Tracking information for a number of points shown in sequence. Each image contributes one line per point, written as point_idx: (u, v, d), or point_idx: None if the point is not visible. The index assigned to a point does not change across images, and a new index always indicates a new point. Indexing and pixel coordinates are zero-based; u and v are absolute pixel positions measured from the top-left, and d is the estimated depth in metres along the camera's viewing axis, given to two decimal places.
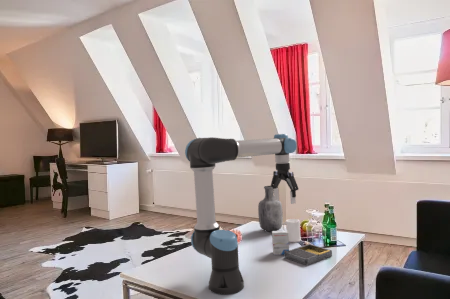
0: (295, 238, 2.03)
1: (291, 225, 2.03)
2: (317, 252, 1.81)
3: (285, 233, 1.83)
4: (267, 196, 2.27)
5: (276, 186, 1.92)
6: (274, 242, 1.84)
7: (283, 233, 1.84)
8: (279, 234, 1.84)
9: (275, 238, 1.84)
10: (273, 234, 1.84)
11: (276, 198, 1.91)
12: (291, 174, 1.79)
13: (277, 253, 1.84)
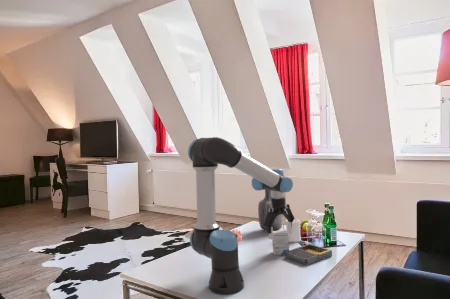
0: (295, 238, 2.03)
1: None
2: (317, 252, 1.81)
3: (285, 233, 1.83)
4: (267, 196, 2.27)
5: (290, 219, 1.89)
6: (274, 242, 1.84)
7: (283, 233, 1.84)
8: (279, 234, 1.84)
9: (275, 238, 1.84)
10: (273, 234, 1.84)
11: (288, 231, 1.90)
12: (268, 210, 1.82)
13: (277, 253, 1.84)
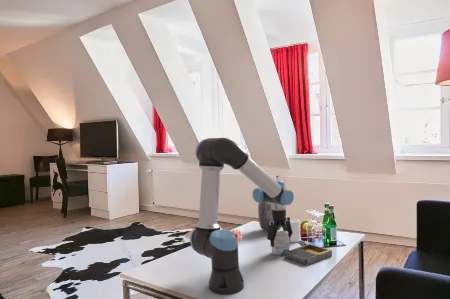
0: (295, 238, 2.03)
1: (291, 225, 2.03)
2: (317, 252, 1.81)
3: (285, 233, 1.83)
4: None
5: (288, 234, 1.88)
6: None
7: (283, 233, 1.84)
8: (279, 234, 1.84)
9: (275, 238, 1.84)
10: None
11: None
12: (269, 223, 1.82)
13: (277, 253, 1.84)
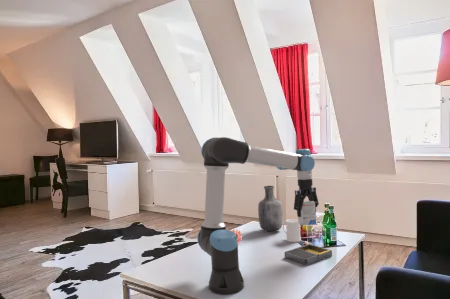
0: (295, 238, 2.03)
1: (291, 225, 2.03)
2: (317, 252, 1.81)
3: (312, 203, 1.78)
4: (267, 196, 2.27)
5: None
6: None
7: (310, 203, 1.78)
8: (306, 204, 1.78)
9: (302, 208, 1.78)
10: None
11: None
12: (296, 193, 1.76)
13: (304, 223, 1.78)
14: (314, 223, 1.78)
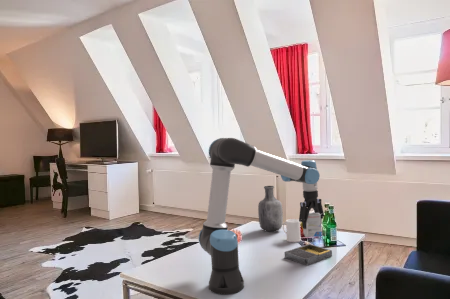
0: (295, 238, 2.03)
1: (291, 225, 2.03)
2: (317, 252, 1.81)
3: (317, 215, 1.77)
4: (267, 196, 2.27)
5: None
6: None
7: (315, 215, 1.77)
8: (311, 216, 1.77)
9: (307, 220, 1.78)
10: None
11: None
12: (301, 205, 1.76)
13: (309, 235, 1.78)
14: (319, 235, 1.77)
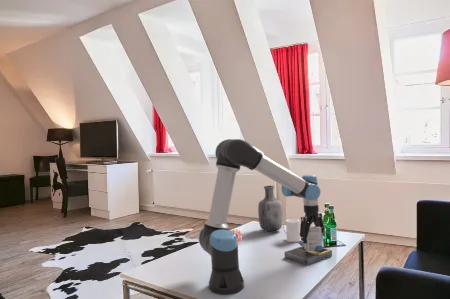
0: (295, 238, 2.03)
1: (291, 225, 2.03)
2: (317, 252, 1.81)
3: (318, 229, 1.77)
4: (267, 196, 2.27)
5: None
6: None
7: (316, 229, 1.77)
8: (312, 230, 1.78)
9: (308, 234, 1.78)
10: None
11: None
12: (302, 219, 1.76)
13: (310, 249, 1.78)
14: (320, 249, 1.77)
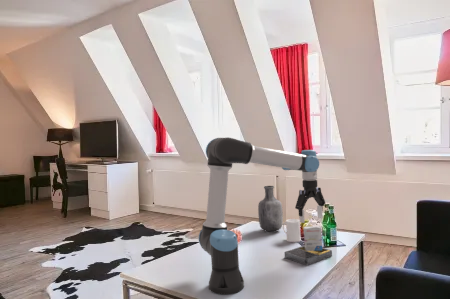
0: (295, 238, 2.03)
1: (291, 225, 2.03)
2: (317, 252, 1.81)
3: (318, 229, 1.77)
4: (267, 196, 2.27)
5: (321, 203, 1.83)
6: (306, 238, 1.78)
7: (316, 229, 1.77)
8: (312, 230, 1.78)
9: (308, 234, 1.78)
10: (305, 230, 1.78)
11: (318, 216, 1.83)
12: (300, 192, 1.75)
13: (310, 249, 1.78)
14: (320, 249, 1.77)
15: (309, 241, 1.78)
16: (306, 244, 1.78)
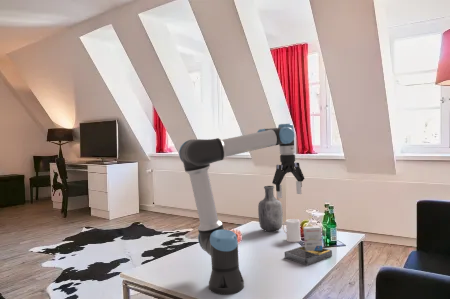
0: (295, 238, 2.03)
1: (291, 225, 2.03)
2: (317, 252, 1.81)
3: (318, 229, 1.77)
4: (267, 196, 2.27)
5: None
6: (306, 238, 1.78)
7: (316, 229, 1.77)
8: (312, 230, 1.78)
9: (308, 234, 1.78)
10: (305, 230, 1.78)
11: (297, 191, 1.79)
12: (277, 167, 1.71)
13: (310, 249, 1.78)
14: (320, 249, 1.77)
15: (309, 241, 1.78)
16: (306, 244, 1.78)
